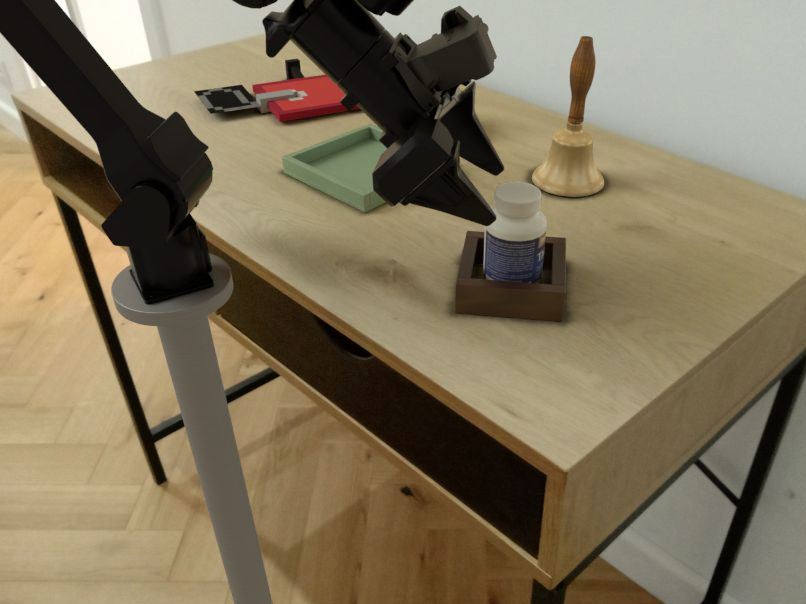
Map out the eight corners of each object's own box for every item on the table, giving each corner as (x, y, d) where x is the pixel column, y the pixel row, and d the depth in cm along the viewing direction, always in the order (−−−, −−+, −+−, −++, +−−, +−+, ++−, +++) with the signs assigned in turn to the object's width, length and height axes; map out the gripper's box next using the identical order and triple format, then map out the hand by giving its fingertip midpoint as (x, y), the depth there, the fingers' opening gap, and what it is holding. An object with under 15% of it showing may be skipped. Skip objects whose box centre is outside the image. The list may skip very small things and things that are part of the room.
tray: (364, 212, 82) (363, 195, 81) (283, 173, 89) (281, 156, 88) (451, 171, 91) (451, 155, 89) (370, 138, 97) (370, 123, 96)
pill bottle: (546, 302, 70) (556, 205, 64) (487, 306, 69) (492, 208, 63) (533, 270, 74) (542, 176, 68) (478, 273, 74) (481, 178, 68)
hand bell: (585, 161, 94) (603, 23, 84) (616, 192, 87) (639, 46, 77) (521, 169, 91) (531, 28, 82) (548, 202, 85) (562, 53, 75)
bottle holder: (454, 313, 69) (455, 284, 67) (466, 257, 76) (466, 230, 74) (562, 321, 68) (565, 293, 66) (562, 264, 75) (566, 237, 73)
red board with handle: (191, 93, 107) (222, 134, 97) (187, 72, 105) (218, 113, 95) (390, 65, 119) (435, 99, 109) (389, 46, 117) (435, 79, 108)
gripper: (412, 17, 49) (570, 188, 55) (448, -47, 64) (571, 94, 70) (303, 130, 54) (458, 274, 61) (360, 47, 69) (480, 170, 75)
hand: (496, 195), depth 66 cm, fingers open, 9 cm apart
